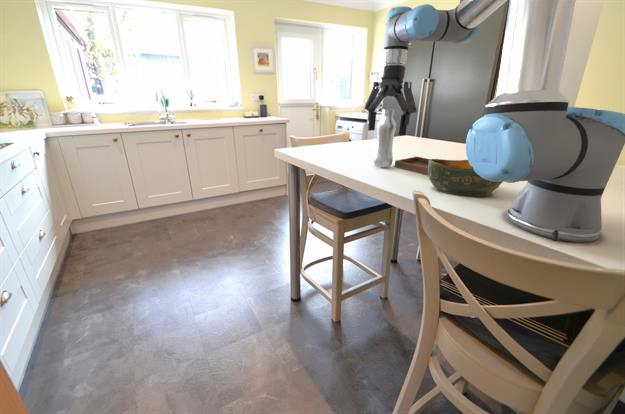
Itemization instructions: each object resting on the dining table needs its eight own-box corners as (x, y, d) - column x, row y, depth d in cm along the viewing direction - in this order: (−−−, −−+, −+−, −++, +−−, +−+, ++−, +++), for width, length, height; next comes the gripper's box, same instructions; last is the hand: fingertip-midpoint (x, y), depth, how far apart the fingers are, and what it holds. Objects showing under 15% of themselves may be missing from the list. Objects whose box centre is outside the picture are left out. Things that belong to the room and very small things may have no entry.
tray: (450, 180, 89) (451, 173, 88) (394, 166, 105) (395, 160, 104) (470, 174, 97) (472, 167, 96) (415, 162, 113) (416, 156, 112)
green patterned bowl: (502, 207, 68) (514, 166, 65) (421, 189, 81) (427, 154, 77) (511, 194, 78) (522, 158, 74) (436, 180, 90) (442, 148, 86)
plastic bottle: (392, 169, 101) (400, 110, 93) (373, 168, 102) (379, 110, 94) (390, 165, 107) (397, 109, 99) (372, 164, 108) (378, 109, 100)
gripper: (435, 64, 85) (423, 136, 93) (372, 67, 103) (366, 127, 111) (421, 62, 80) (409, 138, 88) (357, 66, 98) (353, 129, 107)
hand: (385, 132), depth 100 cm, fingers open, 13 cm apart
